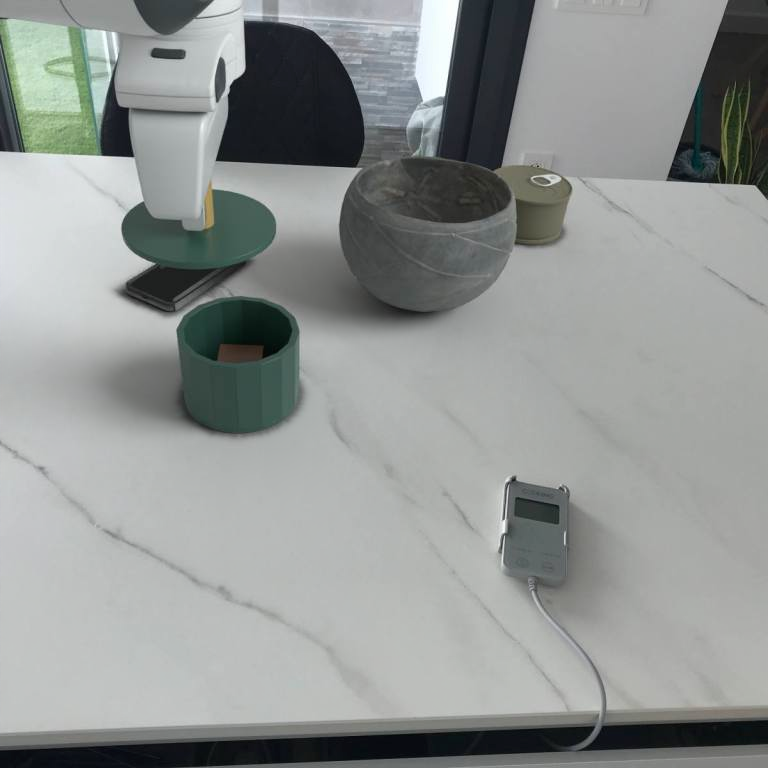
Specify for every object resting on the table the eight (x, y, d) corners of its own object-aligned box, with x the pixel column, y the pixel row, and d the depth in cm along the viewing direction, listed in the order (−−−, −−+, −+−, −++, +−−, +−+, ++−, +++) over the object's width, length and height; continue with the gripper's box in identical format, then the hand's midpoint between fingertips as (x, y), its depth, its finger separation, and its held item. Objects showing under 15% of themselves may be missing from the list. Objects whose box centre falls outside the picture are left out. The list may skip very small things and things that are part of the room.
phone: (249, 253, 101) (171, 305, 91) (249, 261, 102) (172, 313, 92) (202, 235, 104) (120, 284, 94) (202, 242, 105) (122, 291, 94)
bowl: (528, 289, 102) (552, 183, 93) (446, 365, 88) (465, 250, 79) (396, 236, 111) (406, 134, 101) (303, 298, 97) (304, 187, 87)
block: (217, 405, 80) (214, 371, 77) (222, 377, 83) (220, 343, 80) (261, 406, 80) (260, 372, 77) (264, 378, 83) (264, 345, 81)
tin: (285, 440, 77) (285, 374, 72) (169, 424, 78) (160, 358, 72) (307, 367, 86) (308, 304, 81) (203, 354, 87) (197, 290, 81)
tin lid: (256, 285, 61) (254, 226, 58) (98, 265, 62) (87, 205, 58) (290, 210, 71) (289, 156, 68) (153, 193, 72) (146, 138, 68)
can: (465, 216, 117) (472, 173, 112) (525, 200, 122) (534, 159, 118) (517, 253, 109) (527, 208, 105) (578, 234, 115) (590, 192, 111)
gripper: (163, 1, 64) (179, 160, 73) (107, 91, 48) (136, 279, 57) (240, 7, 64) (247, 164, 73) (210, 97, 49) (222, 282, 58)
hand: (198, 215), depth 65 cm, fingers closed on tin lid, 2 cm apart
